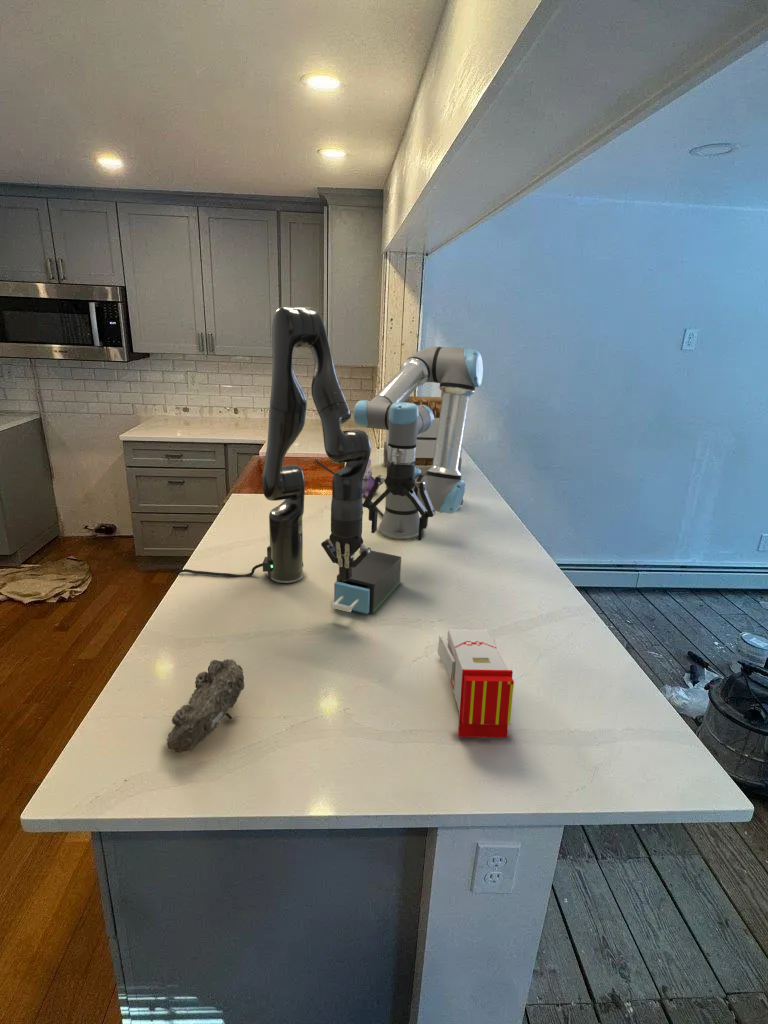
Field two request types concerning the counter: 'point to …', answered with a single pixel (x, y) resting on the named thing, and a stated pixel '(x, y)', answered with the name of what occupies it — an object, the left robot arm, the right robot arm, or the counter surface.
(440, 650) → the toy
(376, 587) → the cabinet
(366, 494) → the figurine
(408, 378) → the right robot arm
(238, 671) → the fossil
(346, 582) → the drawer
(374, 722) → the counter surface
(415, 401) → the light grey slatted crate
